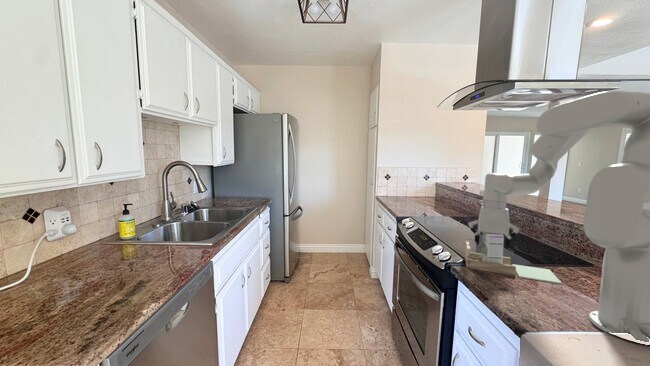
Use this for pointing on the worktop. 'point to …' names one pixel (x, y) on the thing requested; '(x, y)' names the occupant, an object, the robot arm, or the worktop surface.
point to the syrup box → (492, 247)
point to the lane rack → (488, 263)
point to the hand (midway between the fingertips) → (491, 245)
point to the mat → (536, 274)
